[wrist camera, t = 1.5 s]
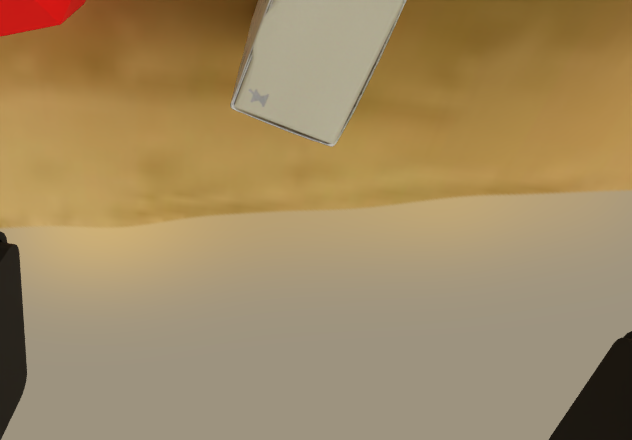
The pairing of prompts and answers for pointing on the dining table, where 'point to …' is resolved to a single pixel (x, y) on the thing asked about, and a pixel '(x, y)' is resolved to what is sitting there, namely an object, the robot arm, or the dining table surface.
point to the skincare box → (312, 62)
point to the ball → (34, 14)
